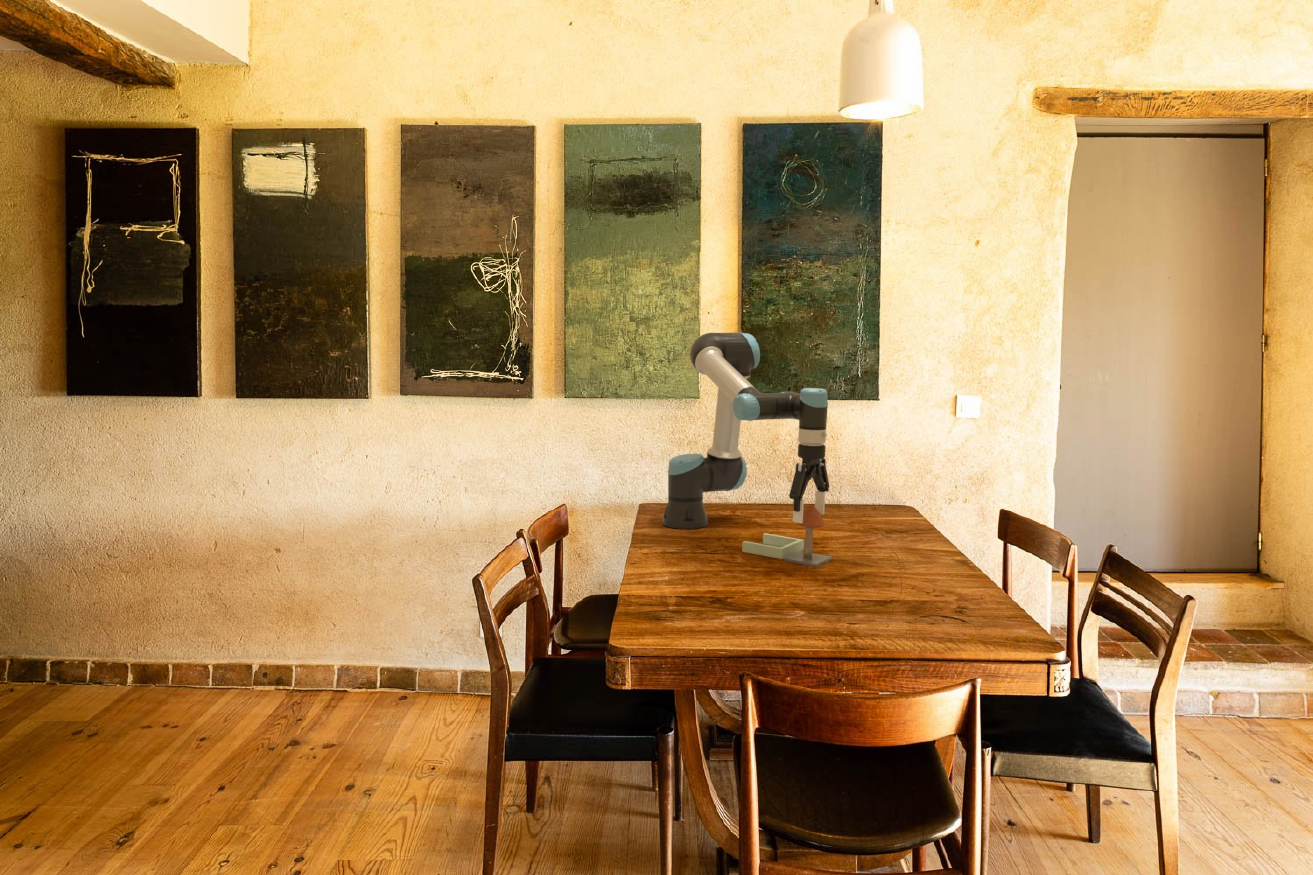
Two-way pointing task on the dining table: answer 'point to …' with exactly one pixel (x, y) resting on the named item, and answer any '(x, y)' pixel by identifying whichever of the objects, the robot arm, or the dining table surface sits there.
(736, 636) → the dining table surface
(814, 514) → the mushroom
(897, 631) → the dining table surface
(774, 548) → the cream u-shaped piece
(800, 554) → the coaster
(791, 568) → the dining table surface
